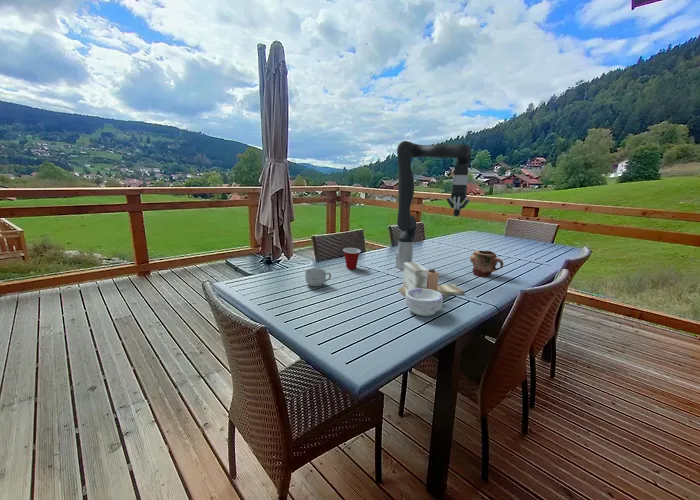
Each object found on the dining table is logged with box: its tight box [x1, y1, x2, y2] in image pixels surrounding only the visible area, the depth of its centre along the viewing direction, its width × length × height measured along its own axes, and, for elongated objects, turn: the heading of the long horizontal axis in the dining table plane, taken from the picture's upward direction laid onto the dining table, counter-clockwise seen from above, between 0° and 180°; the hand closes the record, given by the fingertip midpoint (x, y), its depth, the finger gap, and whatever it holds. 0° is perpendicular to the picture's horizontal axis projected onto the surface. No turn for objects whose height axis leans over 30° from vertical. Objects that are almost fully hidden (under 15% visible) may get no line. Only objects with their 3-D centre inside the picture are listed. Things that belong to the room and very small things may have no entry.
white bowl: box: [404, 288, 444, 317], centre depth 125 cm, size 15×15×8 cm
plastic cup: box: [342, 247, 361, 270], centre depth 183 cm, size 11×11×12 cm
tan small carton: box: [427, 268, 440, 291], centre depth 146 cm, size 5×5×10 cm
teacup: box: [304, 267, 332, 287], centre depth 154 cm, size 14×11×8 cm
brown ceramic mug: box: [469, 249, 504, 278], centre depth 172 cm, size 20×12×14 cm, turn 40°
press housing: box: [398, 261, 465, 298], centre depth 146 cm, size 30×14×14 cm, turn 102°
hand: (456, 216), depth 164 cm, fingers closed
